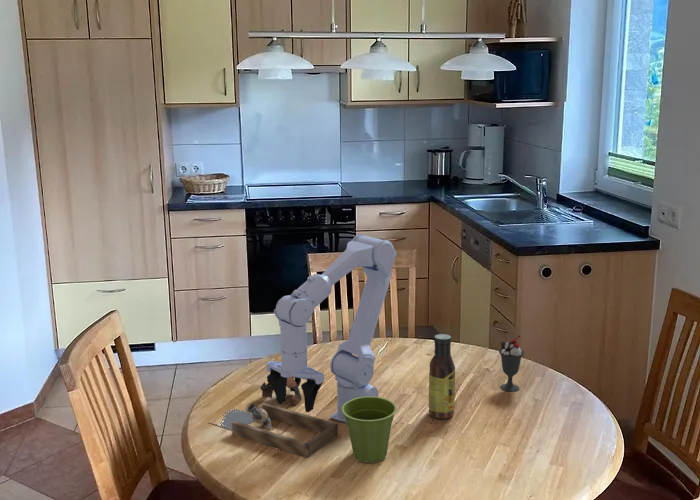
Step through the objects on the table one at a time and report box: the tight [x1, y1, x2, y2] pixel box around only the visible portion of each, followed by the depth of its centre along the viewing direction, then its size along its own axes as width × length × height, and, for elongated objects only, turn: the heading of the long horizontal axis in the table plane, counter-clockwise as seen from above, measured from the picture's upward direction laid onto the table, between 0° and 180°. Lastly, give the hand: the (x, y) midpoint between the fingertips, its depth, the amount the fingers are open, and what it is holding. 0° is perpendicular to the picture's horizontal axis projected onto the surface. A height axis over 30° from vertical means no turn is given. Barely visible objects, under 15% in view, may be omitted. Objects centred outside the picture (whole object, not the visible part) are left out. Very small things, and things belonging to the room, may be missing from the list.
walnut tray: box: [231, 402, 339, 459], centre depth 167 cm, size 21×12×3 cm, turn 58°
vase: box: [246, 403, 273, 431], centre depth 171 cm, size 5×5×6 cm
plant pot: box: [341, 396, 398, 464], centre depth 157 cm, size 12×12×11 cm
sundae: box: [497, 334, 525, 393], centre depth 189 cm, size 7×7×15 cm
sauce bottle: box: [428, 333, 456, 420], centre depth 174 cm, size 7×6×20 cm
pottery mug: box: [260, 377, 302, 406], centre depth 186 cm, size 12×10×8 cm
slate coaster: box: [215, 407, 255, 431], centre depth 175 cm, size 9×9×1 cm
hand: (295, 406), depth 164 cm, fingers open, 7 cm apart
